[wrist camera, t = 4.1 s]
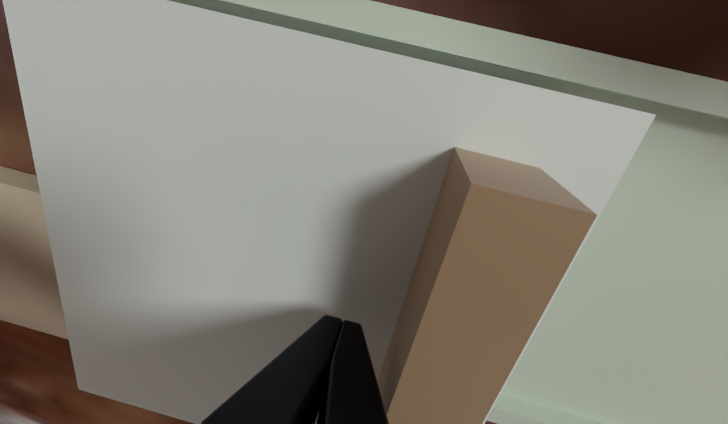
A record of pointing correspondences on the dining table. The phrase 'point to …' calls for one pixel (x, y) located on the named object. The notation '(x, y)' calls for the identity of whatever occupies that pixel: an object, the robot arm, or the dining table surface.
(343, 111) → the frosted cover
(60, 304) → the birch coaster
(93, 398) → the dining table surface
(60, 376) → the dining table surface
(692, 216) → the propagator bed
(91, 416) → the dining table surface
